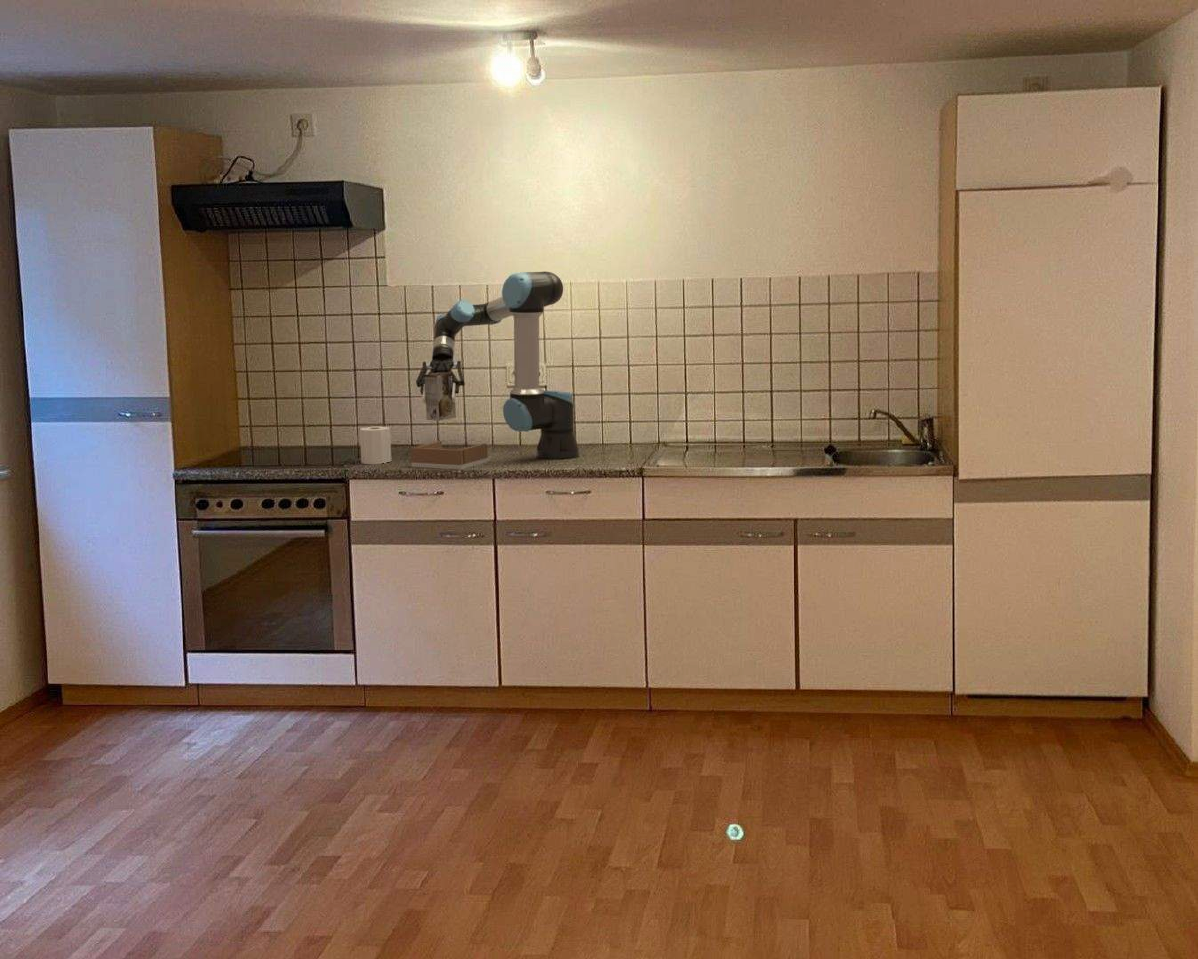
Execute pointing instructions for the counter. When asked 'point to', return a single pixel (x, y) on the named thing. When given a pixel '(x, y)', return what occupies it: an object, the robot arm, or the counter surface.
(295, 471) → the counter surface
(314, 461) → the counter surface
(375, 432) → the toilet paper
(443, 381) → the coffee box
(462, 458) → the tray
